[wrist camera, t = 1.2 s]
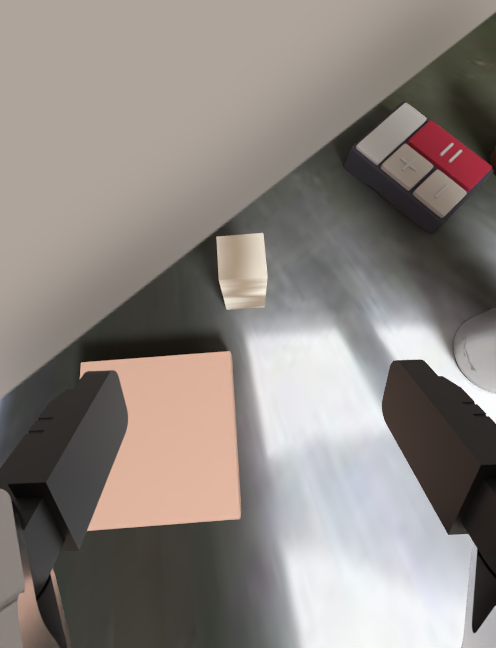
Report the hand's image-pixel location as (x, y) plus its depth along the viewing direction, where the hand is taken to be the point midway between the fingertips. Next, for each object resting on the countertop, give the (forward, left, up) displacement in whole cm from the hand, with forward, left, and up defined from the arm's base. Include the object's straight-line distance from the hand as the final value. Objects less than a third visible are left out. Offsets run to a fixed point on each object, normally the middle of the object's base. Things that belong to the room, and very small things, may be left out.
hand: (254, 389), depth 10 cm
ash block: (0, -14, -27) cm, 31 cm away
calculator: (-24, -29, -28) cm, 47 cm away
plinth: (+10, +2, -27) cm, 29 cm away
